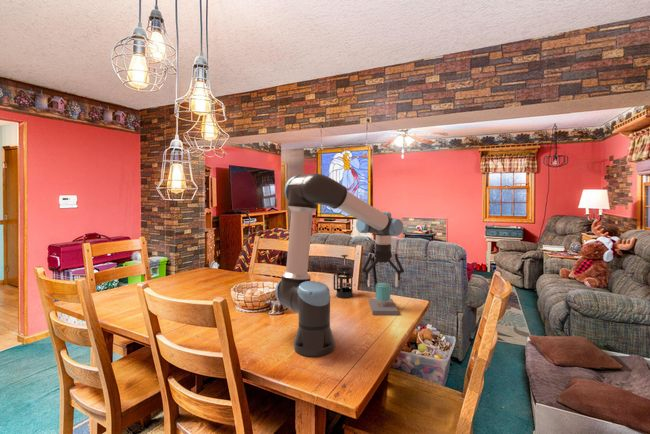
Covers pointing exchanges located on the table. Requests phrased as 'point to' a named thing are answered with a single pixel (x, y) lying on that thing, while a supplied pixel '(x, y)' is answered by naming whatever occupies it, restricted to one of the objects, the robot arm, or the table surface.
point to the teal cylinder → (383, 291)
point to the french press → (344, 288)
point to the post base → (383, 307)
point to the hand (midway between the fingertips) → (382, 286)
